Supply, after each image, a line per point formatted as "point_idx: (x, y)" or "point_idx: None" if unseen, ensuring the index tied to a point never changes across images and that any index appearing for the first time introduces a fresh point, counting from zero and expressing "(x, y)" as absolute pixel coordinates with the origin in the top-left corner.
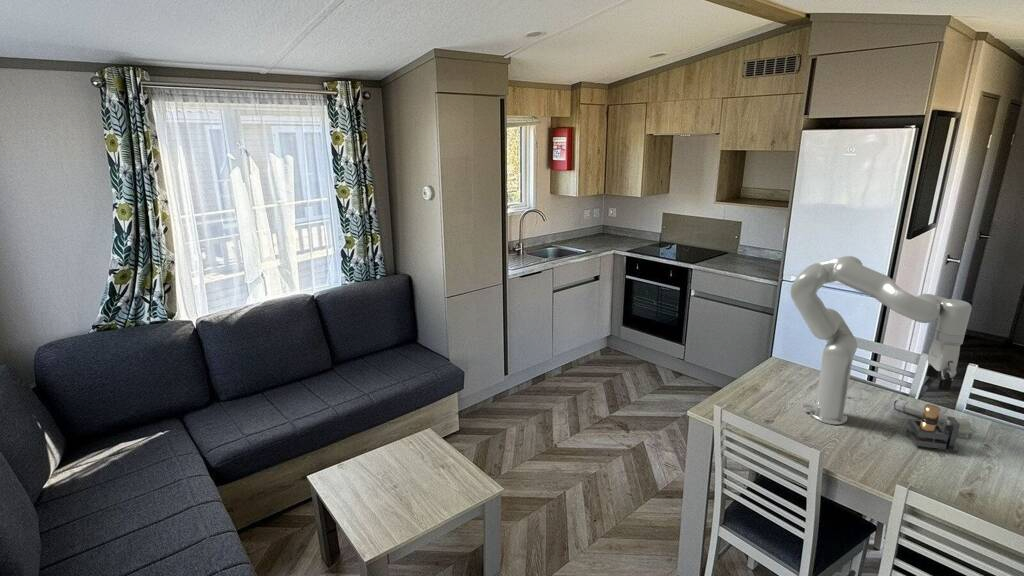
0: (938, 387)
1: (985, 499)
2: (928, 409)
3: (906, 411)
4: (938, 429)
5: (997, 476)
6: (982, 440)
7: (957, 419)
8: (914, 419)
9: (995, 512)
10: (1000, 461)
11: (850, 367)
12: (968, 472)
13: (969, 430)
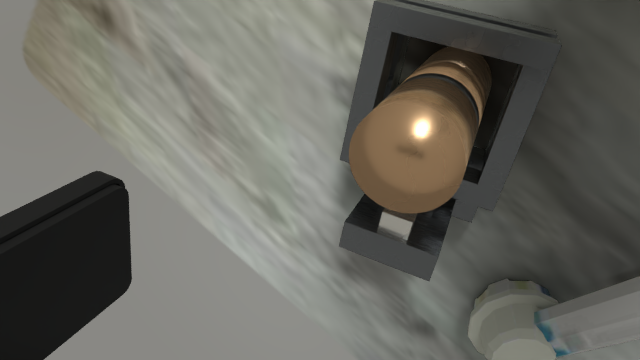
0: (82, 178)
1: (92, 53)
2: (378, 107)
3: None
4: None
5: (224, 196)
6: (462, 346)
7: (541, 347)
8: (540, 78)
9: (39, 36)
10: (315, 282)
11: None
12: (231, 113)
13: (480, 336)
